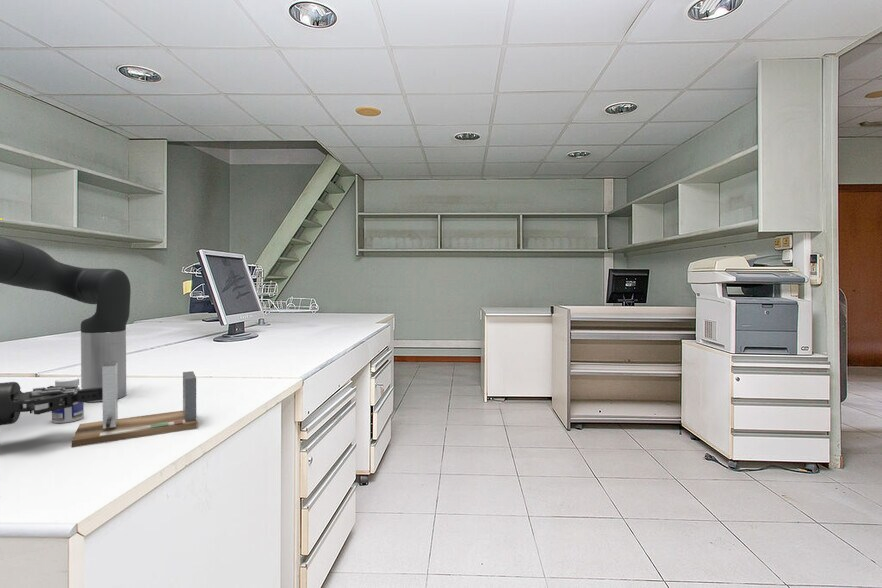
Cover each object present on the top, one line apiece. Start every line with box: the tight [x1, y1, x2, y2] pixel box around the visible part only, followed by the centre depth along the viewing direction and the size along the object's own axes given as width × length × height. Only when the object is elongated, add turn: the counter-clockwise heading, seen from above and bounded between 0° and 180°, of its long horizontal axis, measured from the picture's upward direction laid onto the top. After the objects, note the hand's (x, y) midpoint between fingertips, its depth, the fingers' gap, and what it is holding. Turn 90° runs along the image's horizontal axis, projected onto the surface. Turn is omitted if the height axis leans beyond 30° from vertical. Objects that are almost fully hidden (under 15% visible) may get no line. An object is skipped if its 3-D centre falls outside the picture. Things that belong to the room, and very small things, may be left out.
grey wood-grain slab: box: [182, 371, 197, 422], centre depth 95 cm, size 8×2×9 cm, turn 34°
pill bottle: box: [51, 376, 85, 424], centre depth 95 cm, size 5×5×9 cm
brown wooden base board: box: [71, 410, 198, 448], centre depth 90 cm, size 11×20×2 cm, turn 124°
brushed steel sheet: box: [102, 361, 119, 429], centre depth 86 cm, size 9×2×12 cm, turn 34°
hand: (103, 393), depth 87 cm, fingers closed
